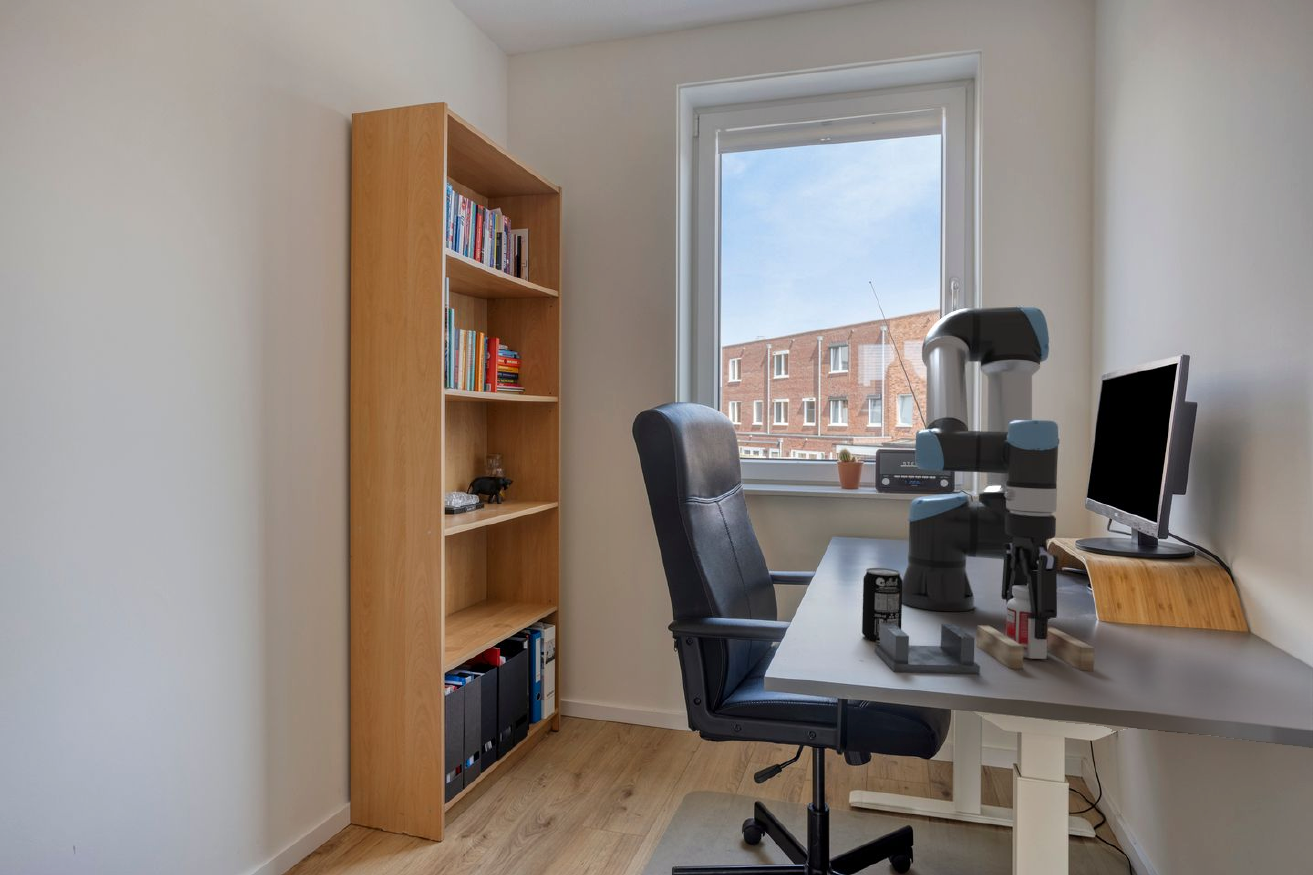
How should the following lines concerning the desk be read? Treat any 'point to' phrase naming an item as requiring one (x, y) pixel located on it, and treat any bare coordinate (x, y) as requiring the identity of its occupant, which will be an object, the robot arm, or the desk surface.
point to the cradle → (927, 651)
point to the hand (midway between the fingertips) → (1026, 651)
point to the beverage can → (881, 600)
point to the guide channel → (1057, 645)
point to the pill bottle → (1019, 617)
